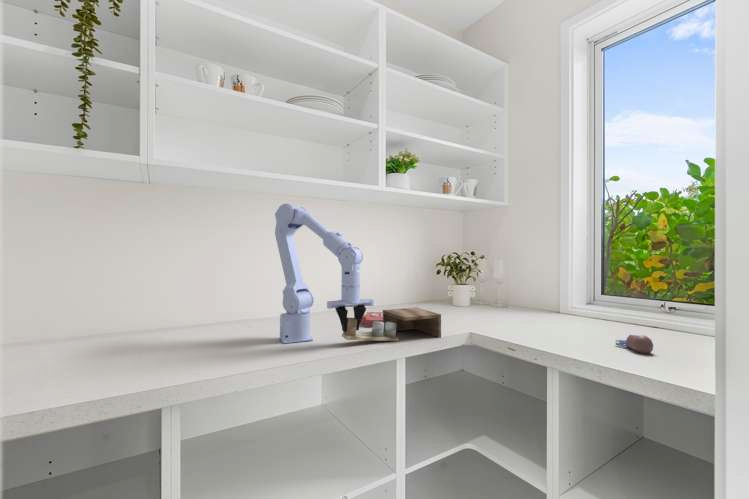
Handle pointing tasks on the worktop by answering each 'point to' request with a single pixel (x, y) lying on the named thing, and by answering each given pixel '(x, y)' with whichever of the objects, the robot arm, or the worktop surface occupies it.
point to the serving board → (376, 331)
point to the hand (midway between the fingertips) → (350, 330)
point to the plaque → (372, 318)
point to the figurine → (638, 343)
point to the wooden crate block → (414, 320)
